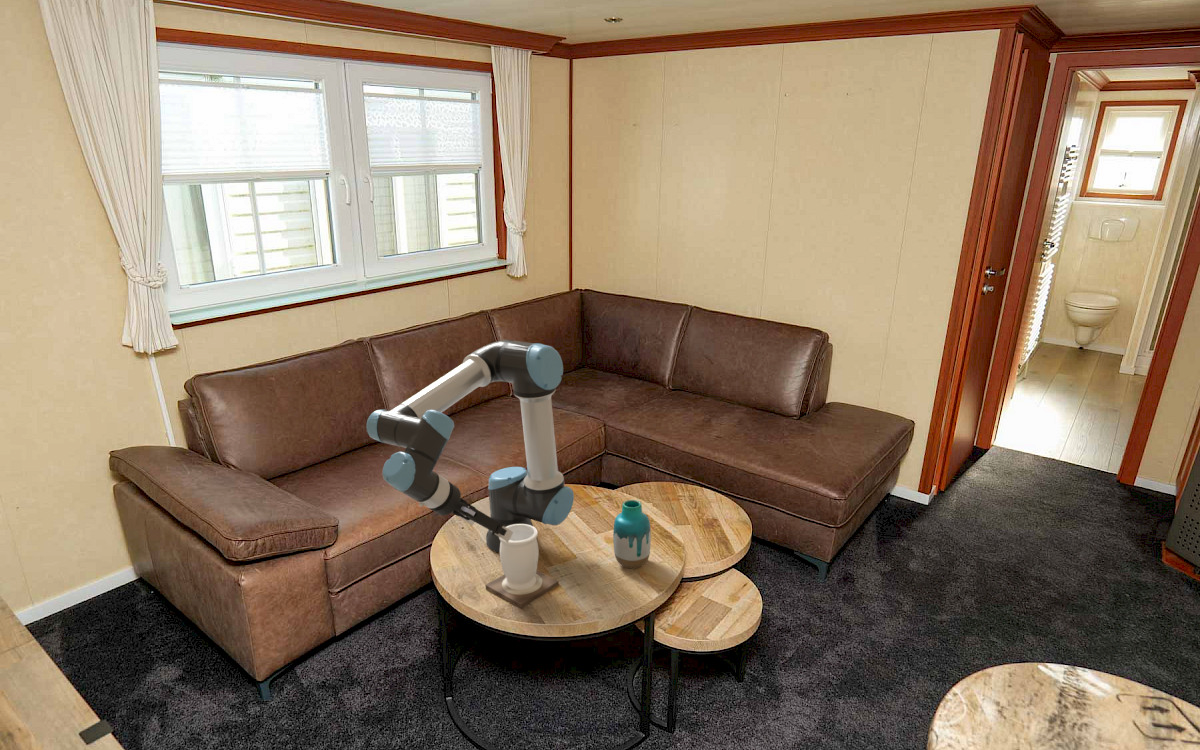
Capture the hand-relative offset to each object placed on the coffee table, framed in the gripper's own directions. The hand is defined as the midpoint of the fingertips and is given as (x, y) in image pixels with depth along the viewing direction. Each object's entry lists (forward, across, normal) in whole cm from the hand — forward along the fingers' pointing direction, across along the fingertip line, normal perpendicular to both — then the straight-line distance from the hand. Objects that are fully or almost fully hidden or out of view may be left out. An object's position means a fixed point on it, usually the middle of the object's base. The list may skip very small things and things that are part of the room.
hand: (491, 528), depth 175 cm
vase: (+42, +16, +11) cm, 46 cm away
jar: (+21, 0, -8) cm, 22 cm away
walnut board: (+22, 0, -9) cm, 24 cm away
